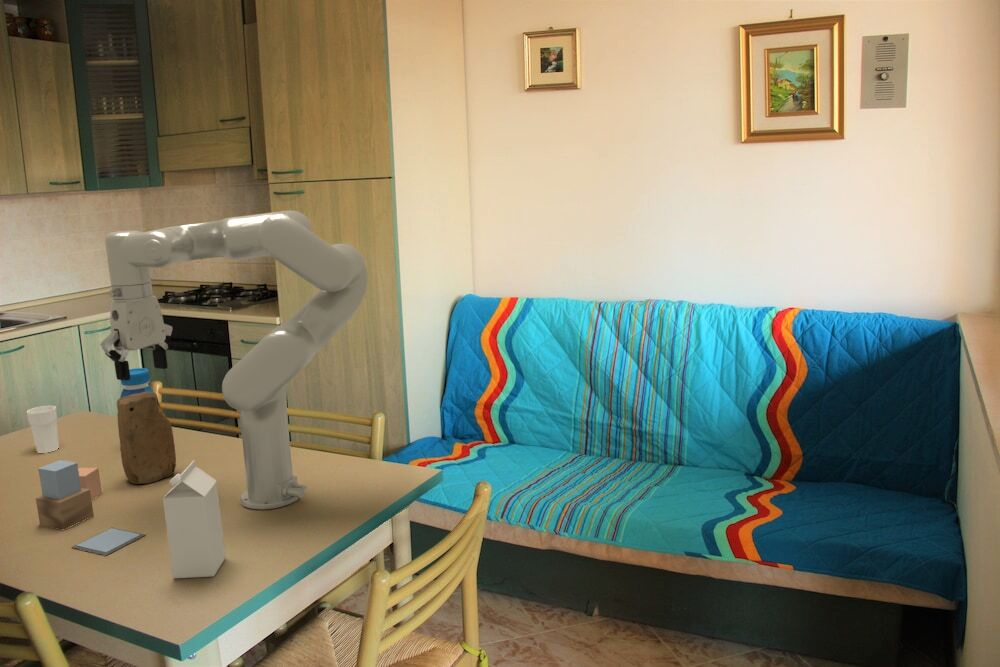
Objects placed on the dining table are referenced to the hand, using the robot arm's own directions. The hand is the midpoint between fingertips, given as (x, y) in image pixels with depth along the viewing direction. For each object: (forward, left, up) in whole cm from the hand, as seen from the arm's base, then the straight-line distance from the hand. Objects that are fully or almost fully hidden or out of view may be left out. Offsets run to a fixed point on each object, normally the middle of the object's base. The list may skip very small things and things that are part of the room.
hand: (142, 373), depth 173 cm
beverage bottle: (+33, -26, -28) cm, 51 cm away
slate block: (+11, +14, -22) cm, 29 cm away
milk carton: (-31, +20, -28) cm, 47 cm away
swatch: (-6, +18, -28) cm, 34 cm away
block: (+13, -10, -28) cm, 33 cm away
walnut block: (+11, +14, -28) cm, 34 cm away
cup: (+55, -15, -28) cm, 64 cm away
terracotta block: (+18, +4, -28) cm, 34 cm away
